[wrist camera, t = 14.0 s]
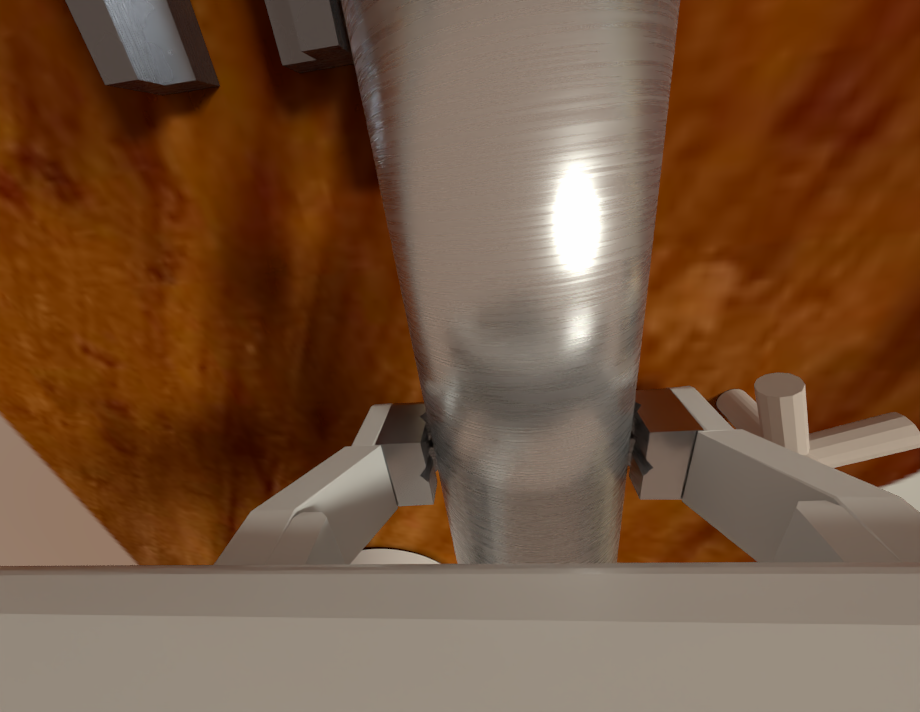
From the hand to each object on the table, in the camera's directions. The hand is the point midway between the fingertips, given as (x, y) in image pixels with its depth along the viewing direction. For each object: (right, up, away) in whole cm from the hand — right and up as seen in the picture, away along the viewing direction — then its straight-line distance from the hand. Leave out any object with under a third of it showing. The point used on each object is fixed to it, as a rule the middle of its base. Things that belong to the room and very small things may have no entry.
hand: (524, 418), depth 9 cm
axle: (0, +2, -2) cm, 3 cm away
